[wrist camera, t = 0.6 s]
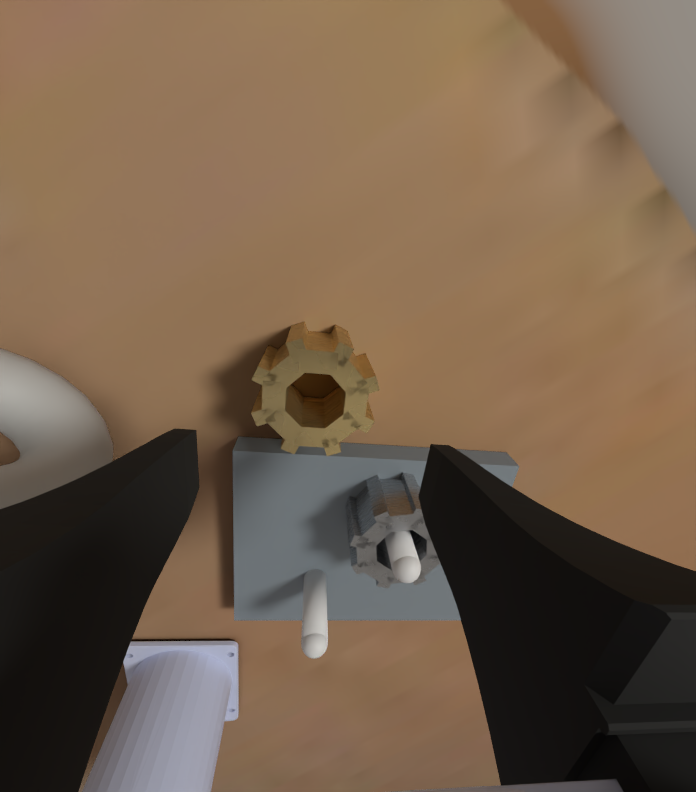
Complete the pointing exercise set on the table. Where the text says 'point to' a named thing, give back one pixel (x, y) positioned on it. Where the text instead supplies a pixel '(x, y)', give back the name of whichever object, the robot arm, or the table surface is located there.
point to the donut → (46, 430)
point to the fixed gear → (387, 527)
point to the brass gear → (307, 415)
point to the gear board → (327, 537)
